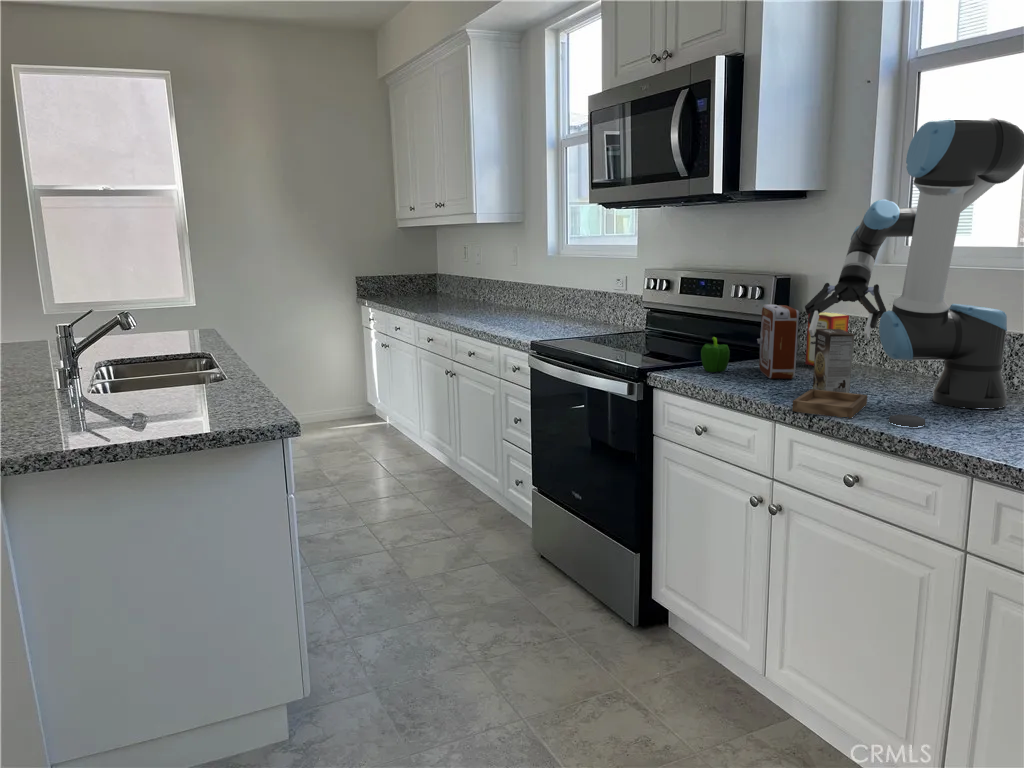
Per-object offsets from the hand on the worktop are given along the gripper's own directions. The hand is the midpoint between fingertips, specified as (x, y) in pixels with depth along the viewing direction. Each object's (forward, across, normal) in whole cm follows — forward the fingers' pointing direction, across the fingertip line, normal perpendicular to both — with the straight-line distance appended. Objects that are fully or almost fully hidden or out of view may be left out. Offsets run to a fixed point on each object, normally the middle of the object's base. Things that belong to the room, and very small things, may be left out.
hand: (837, 334), depth 196 cm
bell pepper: (+6, +35, -14) cm, 38 cm away
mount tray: (+27, -5, +7) cm, 28 cm away
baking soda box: (-11, +10, -32) cm, 35 cm away
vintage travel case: (+3, +19, -18) cm, 26 cm away
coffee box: (+15, -1, -5) cm, 16 cm away
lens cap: (+31, -22, +11) cm, 39 cm away
